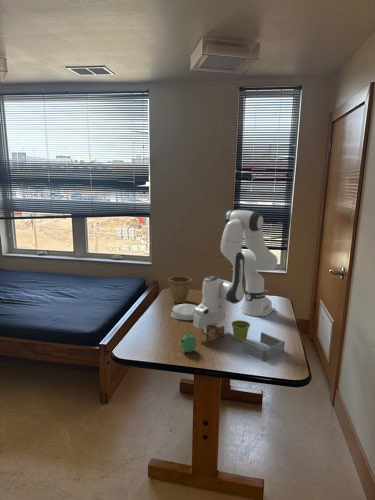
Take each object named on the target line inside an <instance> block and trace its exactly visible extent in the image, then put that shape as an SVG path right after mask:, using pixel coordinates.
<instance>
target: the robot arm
mask: <svg viewBox="0 0 375 500" xmlns="http://www.w3.org/2000/svg"><path fill="white" fill-rule="evenodd" d="M224 225H225V227H224V230H223V233H222V236H221V241H220V252H221V254H222V255H223V256H224V257H225V258H226V259H227V260H228V261H229V262H230V263H231V265H232V282H231V281H229V280H226V279H221V278H219V277H218V276H217V275H208V276H206V277H204V278H203V282H202V287H201V288H202V291H201V292H202V293H201V294H202V299H201V303H200V304H198V305H196V306H197V307H195V309H194V311H195V312H196V313H195V314H194V320H192V321H193V324H192V325H193V326H194V327H195V328H196V329H202V327H203V328H204V333H208V329H207V328H206V327H207V325H210V324H212V325H214V326H216V327H217V324H218V322H221V321H225V319H226V310H225V304H224V303H222V302H221V303H220V300H219V299H223V300H226V301H228V302H229V303H232V304H238V303H239V302H241V301H242V300H243V303H242V306H241V309H242V310H241V313H243V314H245V315H248V316H250V317H251V316H252V317H264V316H265V317H267V316H269V315H270V314H272V313H273V312H272V311H274V310H275V311H276V308H275V307H274V306H273V305H272V301H271V300H270V299H269V298H268V297H267V296H266V295H267V294H269V290H266V289H265V279H264V277H263V276H262V275H261V274H260V273H259V272H258V271H259V270H260V271H265V272H266V271H274V270H275V268H277V267H278V266H277V265H278V264H279V263H278V262H279V261H278V258H277V256H276V254H274V253H273V252H272V251H270V250H269V247H268V246H267V245H266V243H265V238H264V232H263V225H264V216H263V214H261V213H260V212H257V211H252V210H249V209H248V210H246V209H229V210H227V211H226V213H225V215H224ZM243 239H244V240H243ZM243 241H244V245H245V248H247V249H244V250H243V248H242V247H243V246H242V245H243ZM257 270H258V271H257ZM244 277H245V278H244ZM244 280H245V282H244ZM244 283H245V287H244ZM272 307H273V308H272ZM275 311H274V312H275ZM271 312H272V313H271ZM269 313H270V314H269ZM268 314H269V315H268ZM204 333H203V334H204Z"/></svg>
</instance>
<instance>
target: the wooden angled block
mask: <svg viewBox="0 0 375 500" xmlns="http://www.w3.org/2000/svg"><path fill="white" fill-rule="evenodd" d="M206 328H207V329H208V333H204V328H203V327H201V328H200V329H201V330H200V331H201V333H202V334H204V335H206V336H207V337H208V338H207V339H208V341H214V340H216V339H219V338H222V337H224V336H225V326H224V325H221V326H217V325H216V326H214V325H213V324H210V325H207V327H206Z"/></svg>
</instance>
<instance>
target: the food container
mask: <svg viewBox="0 0 375 500" xmlns="http://www.w3.org/2000/svg"><path fill="white" fill-rule="evenodd" d="M197 306H198V305H197V304H192V303H182V304H176V305H173V307H172V308H171V310H172V312H171V313H170V316H171V317H172V319H176V320H181V321H193V320H194V314H195V313H196V312H195V311H194V309H195V307H197Z"/></svg>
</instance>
